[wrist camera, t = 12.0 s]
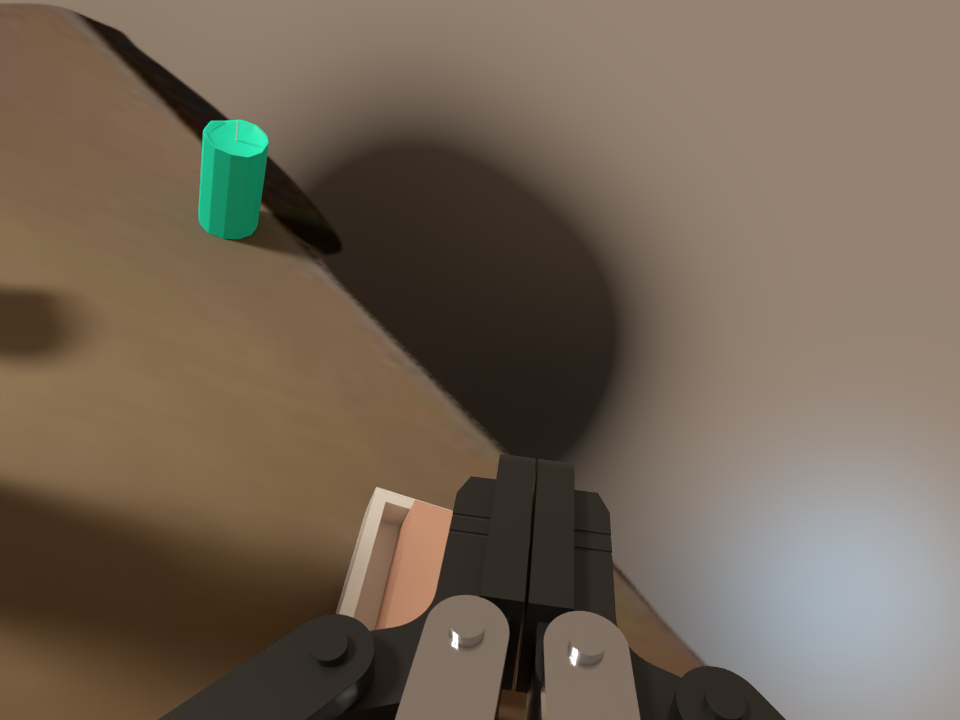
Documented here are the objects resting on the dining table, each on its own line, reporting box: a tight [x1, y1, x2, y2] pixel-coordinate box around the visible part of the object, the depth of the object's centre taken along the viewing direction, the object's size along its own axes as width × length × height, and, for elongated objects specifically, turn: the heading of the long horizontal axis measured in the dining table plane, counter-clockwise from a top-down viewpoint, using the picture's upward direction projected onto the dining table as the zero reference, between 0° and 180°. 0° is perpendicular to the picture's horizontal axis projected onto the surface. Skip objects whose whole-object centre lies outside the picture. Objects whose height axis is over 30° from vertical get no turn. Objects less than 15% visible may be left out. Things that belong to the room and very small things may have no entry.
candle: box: [198, 120, 269, 239], centre depth 70 cm, size 6×6×12 cm
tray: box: [335, 487, 451, 631], centre depth 53 cm, size 12×11×4 cm
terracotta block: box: [375, 500, 453, 630], centre depth 51 cm, size 5×5×10 cm
